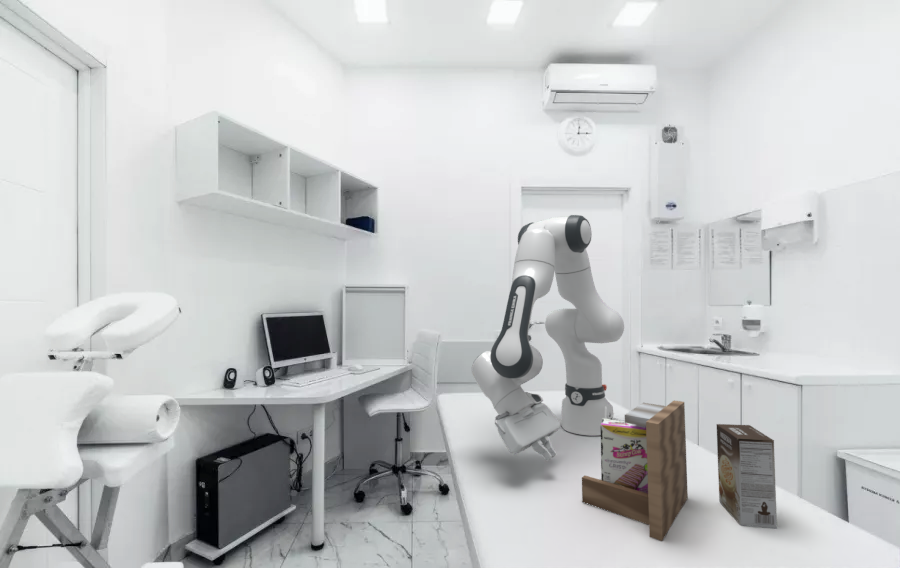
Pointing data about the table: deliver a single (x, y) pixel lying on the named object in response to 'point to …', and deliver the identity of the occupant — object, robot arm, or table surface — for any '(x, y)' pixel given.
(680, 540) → the table surface
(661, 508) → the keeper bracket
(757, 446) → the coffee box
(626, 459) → the candy bar box
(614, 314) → the robot arm
